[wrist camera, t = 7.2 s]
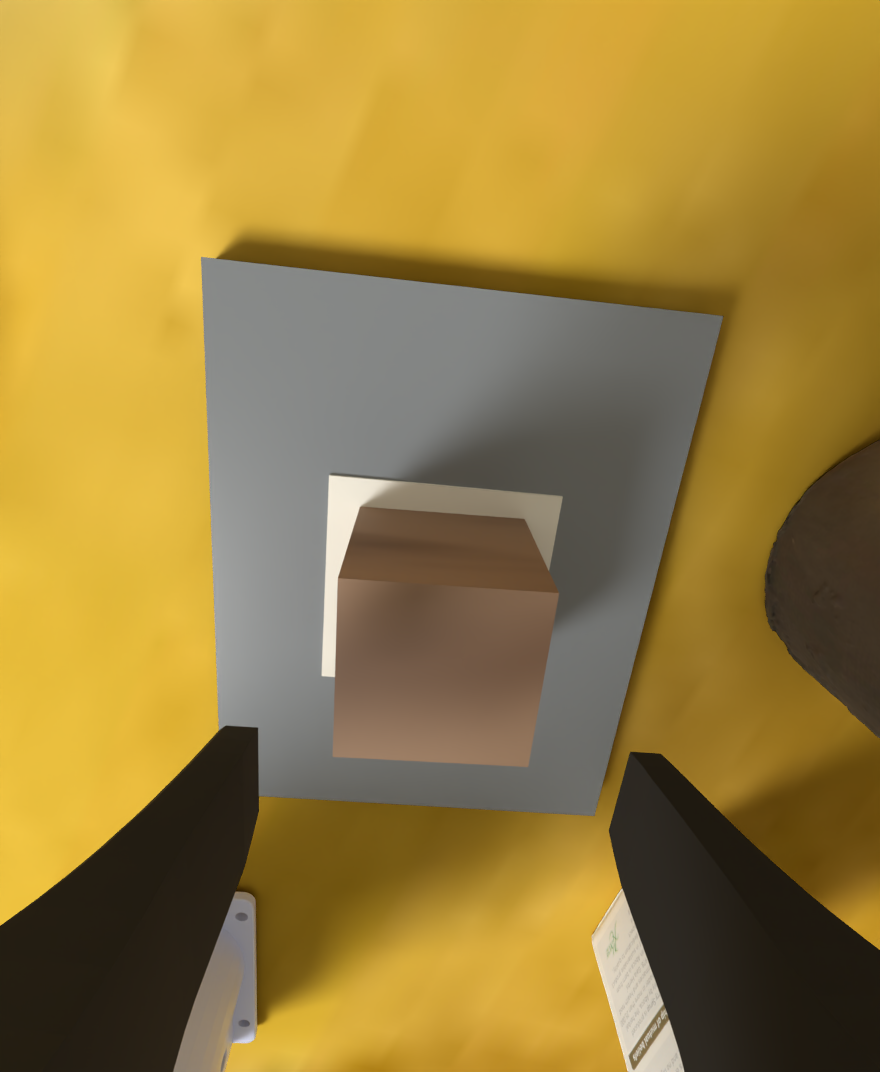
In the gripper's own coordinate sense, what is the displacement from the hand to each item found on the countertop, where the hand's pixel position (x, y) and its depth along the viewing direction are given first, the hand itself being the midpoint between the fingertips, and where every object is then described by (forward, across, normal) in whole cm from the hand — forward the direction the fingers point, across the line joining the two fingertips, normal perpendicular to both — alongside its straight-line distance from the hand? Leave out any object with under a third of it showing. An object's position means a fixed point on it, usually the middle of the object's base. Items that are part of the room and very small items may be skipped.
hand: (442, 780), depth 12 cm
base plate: (+9, 0, 0) cm, 9 cm away
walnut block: (+8, 0, 0) cm, 8 cm away
